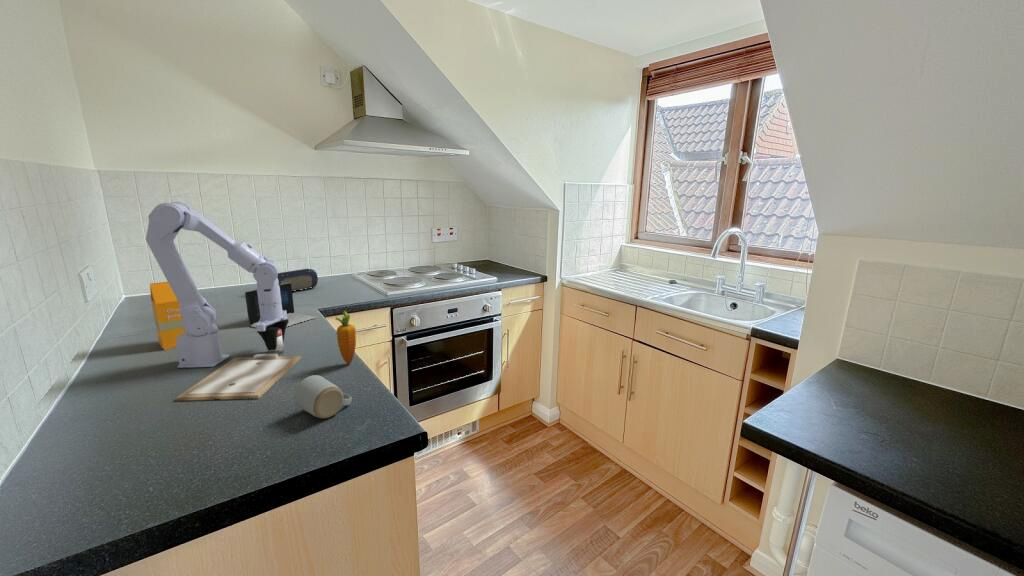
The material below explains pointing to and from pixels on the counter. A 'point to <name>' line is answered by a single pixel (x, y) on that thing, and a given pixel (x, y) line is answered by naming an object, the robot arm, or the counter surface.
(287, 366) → the clipboard
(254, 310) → the laptop
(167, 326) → the orange juice
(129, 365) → the counter surface
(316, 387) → the ceramic mug
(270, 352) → the marker
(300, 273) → the portable speaker
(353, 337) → the carrot
